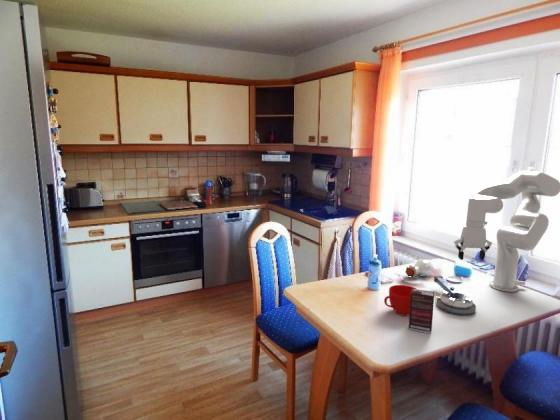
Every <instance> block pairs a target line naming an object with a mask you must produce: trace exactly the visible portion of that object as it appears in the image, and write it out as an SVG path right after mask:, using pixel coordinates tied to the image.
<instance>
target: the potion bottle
mask: <svg viewBox="0 0 560 420" xmlns="http://www.w3.org/2000/svg"><path fill="white" fill-rule="evenodd" d="M433 267H434V266H433V264H432V262H431V261H429V259H423V258H422V259H418V260H416V262H415V264H414V266H412V265H408V266H406V269H405V274H406V275H407V277H408V276H411V278H414V277H413V276H415V277H417V276H420V275H422V276H421V277H427V276H430V275H431V274H432V272H433V271H434V268H433Z"/></svg>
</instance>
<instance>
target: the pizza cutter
mask: <svg viewBox="0 0 560 420" xmlns="http://www.w3.org/2000/svg"><path fill="white" fill-rule="evenodd" d="M433 281H434V283H436V284H437V285H438V286H439V287H440V288H442V289H443V291H442V292H441V295H440V297H441V299H440V301H441V303H442V304H444V305H446V306H448V307H451V308H455V309H470V308H471V307H472V303H474V302H473V299H472V298H471V297H469V296H467V295H465V292H464V291H461V290H460V291H458V290H457V289H456V288H454V286H452V284H451V283H449V282H448V281H447V280H446V279H445V278H444V277H443V276H442V275H434V277H433Z"/></svg>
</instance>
